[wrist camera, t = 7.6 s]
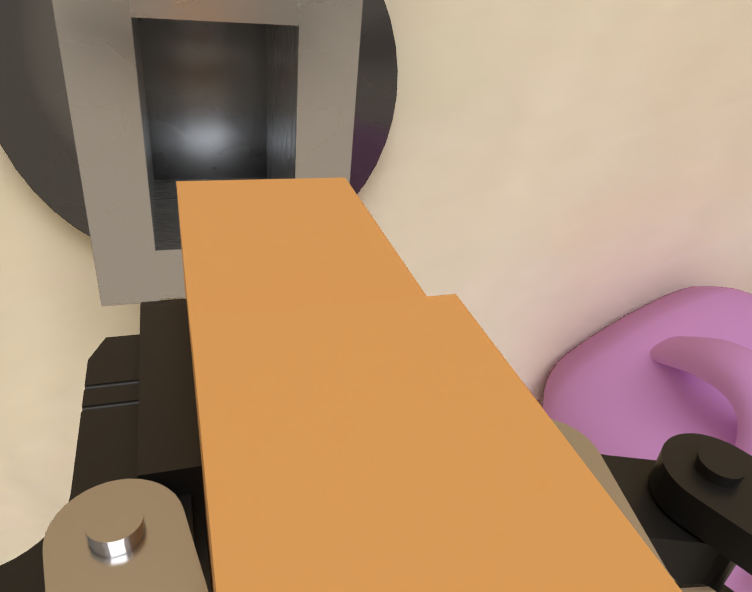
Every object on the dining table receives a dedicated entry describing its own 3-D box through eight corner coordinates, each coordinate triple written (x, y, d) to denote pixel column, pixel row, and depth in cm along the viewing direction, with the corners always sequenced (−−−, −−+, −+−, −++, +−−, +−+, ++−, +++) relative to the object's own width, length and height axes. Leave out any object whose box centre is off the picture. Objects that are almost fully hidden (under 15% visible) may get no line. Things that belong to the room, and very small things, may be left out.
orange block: (347, 151, 11) (829, 785, 3) (331, 368, 14) (580, 1018, 6) (174, 153, 10) (257, 1025, 2) (192, 384, 13) (262, 1175, 5)
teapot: (727, 178, 35) (1026, 326, 23) (743, 399, 48) (943, 570, 36) (378, 375, 36) (496, 624, 23) (486, 545, 48) (599, 764, 36)
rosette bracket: (405, -123, 23) (496, -128, 17) (356, 391, 36) (397, 493, 30) (-70, -184, 18) (-176, -220, 12) (67, 429, 31) (47, 557, 25)
